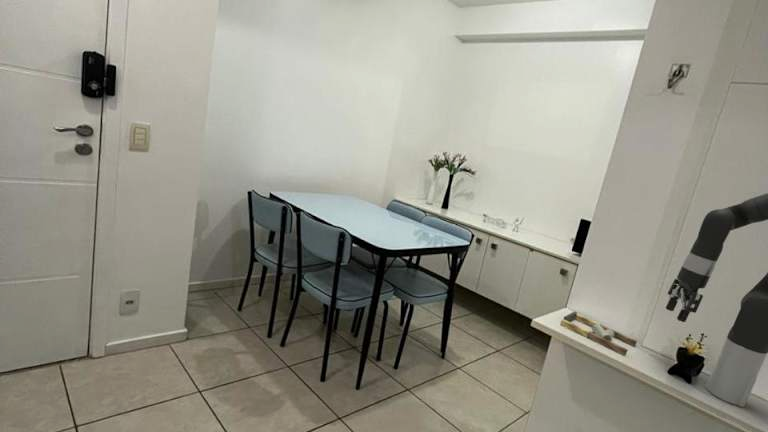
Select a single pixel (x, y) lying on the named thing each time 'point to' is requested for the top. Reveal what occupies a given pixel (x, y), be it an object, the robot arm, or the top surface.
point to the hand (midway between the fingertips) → (674, 315)
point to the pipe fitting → (603, 332)
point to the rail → (574, 316)
